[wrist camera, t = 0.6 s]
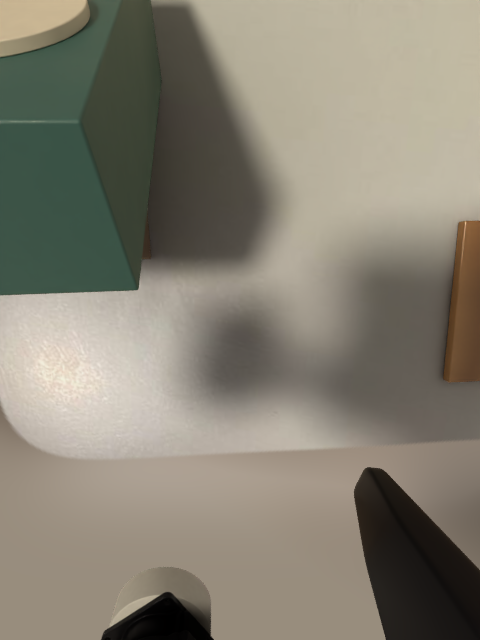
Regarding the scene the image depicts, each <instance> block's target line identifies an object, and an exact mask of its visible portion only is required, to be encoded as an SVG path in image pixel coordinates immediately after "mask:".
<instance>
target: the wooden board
mask: <svg viewBox="0 0 480 640" xmlns="http://www.w3.org/2000/svg"><path fill="white" fill-rule="evenodd" d="M443 379H444V380H445V381H447V382H468V381H480V221H462V222H459V225H458V235H457V245H456V255H455V265H454V275H453V285H452V295H451V305H450V315H449V325H448V336H447V346H446V356H445V366H444V376H443Z"/></svg>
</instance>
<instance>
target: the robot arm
mask: <svg viewBox="0 0 480 640" xmlns="http://www.w3.org/2000/svg"><path fill="white" fill-rule="evenodd" d="M354 498H355V504H356V510H357V516H358V522H359V528H360V534H361V540H362V545H363V551H364V557H365V562H366V566H367V570H368V574H369V578H370V581H371V585H372V589H373V593H374V596H375V600H376V604H377V608H378V611H379V615H380V619H381V623H382V626H383V630H384V634H385V637H386V640H480V570H479V569H478V568H477V567H476V566H475V565H474V564H473V562H471V560H470V559H469V558H468V557H467V556H466V555H465V554H464V553H463V552H462V551H461V550H460V549H459V548H458V547H457V546H456V545H455V544H454V543H453V542H452V541H451V540H450V538H449V537H447V536H446V534H445V533H444V532H443V531H442V530H441V529H440V528H439V527H438V526H437V525H436V524H435V523H434V522H433V521H432V520H431V519H430V518H429V517H428V516H427V515H426V514H425V513H424V512H423V510H422V509H421V508H420V507H419V506H418V505H417V504H416V503H415V502H414V501H413V500H412V499H411V498H410V497H409V496H408V495H407V494H406V493H405V492H404V491H403V490H402V488H401V487H400V486H399V485H398V484H397V483H396V482H395V481H394V480H393V479H392V478H391V477H390V476H389V475H388V474H387V473H386V472H385V471H384V470H382V469H380V468H371V467H367V468H365V469H364V471H363V473H362V475H361V477H360V478H359V480H358V482H357V484H356V486H355V489H354ZM101 640H214V639H213V638H212V636H211V635H210V634H209V633H208V632H207V631H206V630H205V629H204V627H203V626H202V625H201V624H200V623H199V622H198V621H197V620H196V619H195V618H194V616H193V615H192V614H191V613H190V612H189V611H188V610H187V609H186V608H185V607H184V606H183V605H182V603H181V602H180V601H179V600H178V599H177V598H176V597H175V596H174V595H173V594H172V593H171V592H165V593H163V594H161V595H160V596H158V597H156V598H155V599H153V600H152V601H150V602H149V603H147V604H146V605H144V606H142V607H141V608H139V609H138V610H136V611H135V612H133V613H131V614H130V615H128V616H127V617H125V618H124V619H122V620H120V621H119V622H117V623H116V624H114V625H113V626H111V627H110V628H108V629H106V630H105V631H104V632H103V635H102V638H101Z"/></svg>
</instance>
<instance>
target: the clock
mask: <svg viewBox="0 0 480 640" xmlns="http://www.w3.org/2000/svg"><path fill="white" fill-rule="evenodd" d="M161 82H162V80H161V72H160V65H159V58H158V51H157V43H156V36H155V29H154V22H153V14H152V7H151V0H0V295H21V294H48V293H75V292H102V291H129V290H138V288H139V280H140V271H141V262H142V253H143V244H144V235H145V226H146V217H147V208H148V199H149V190H150V181H151V172H152V163H153V154H154V145H155V136H156V127H157V118H158V109H159V100H160V91H161Z"/></svg>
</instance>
